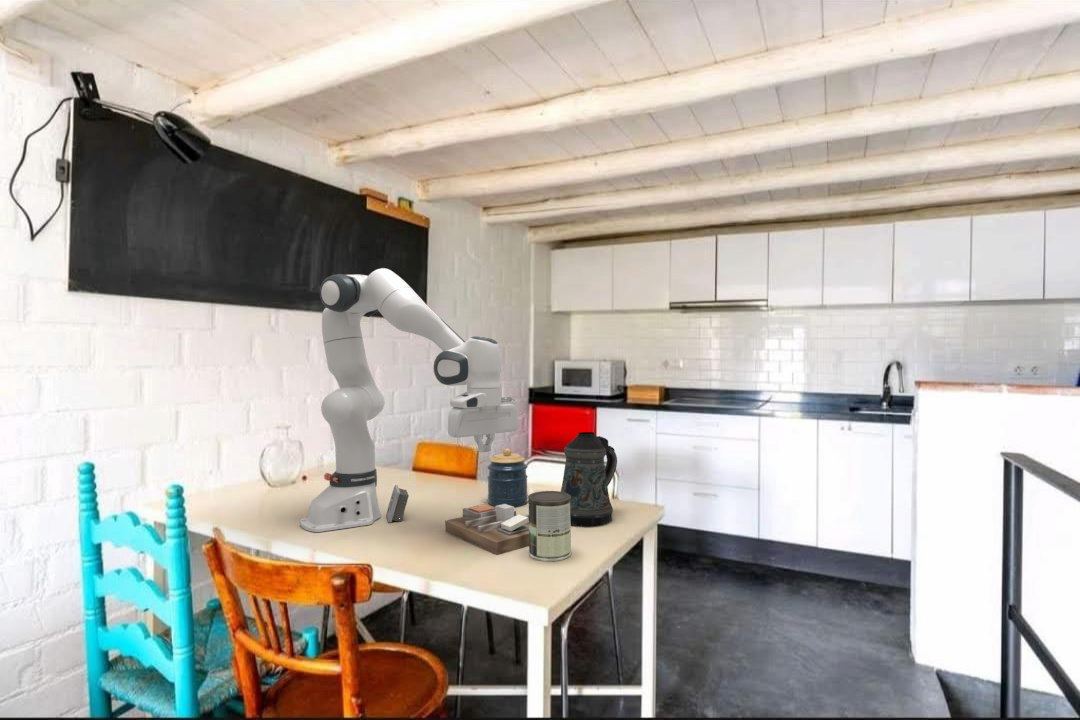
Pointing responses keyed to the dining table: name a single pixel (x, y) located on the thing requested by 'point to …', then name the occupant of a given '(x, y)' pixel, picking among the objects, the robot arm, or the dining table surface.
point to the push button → (481, 508)
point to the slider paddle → (504, 512)
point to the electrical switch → (397, 504)
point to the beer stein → (589, 479)
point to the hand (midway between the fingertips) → (484, 451)
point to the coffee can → (549, 525)
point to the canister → (507, 479)
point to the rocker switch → (514, 522)
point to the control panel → (488, 531)
